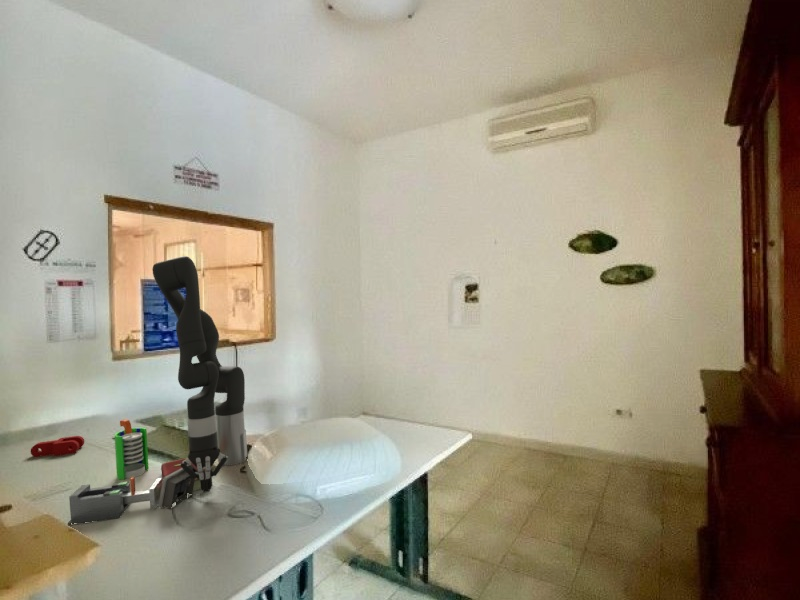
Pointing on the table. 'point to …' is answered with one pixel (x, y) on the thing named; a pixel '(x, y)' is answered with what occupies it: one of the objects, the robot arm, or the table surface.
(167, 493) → the electrical switch
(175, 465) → the hardcover book
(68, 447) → the mechanical linkage
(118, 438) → the green-shelled ribbed roller
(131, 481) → the plunger
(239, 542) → the table surface
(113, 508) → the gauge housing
